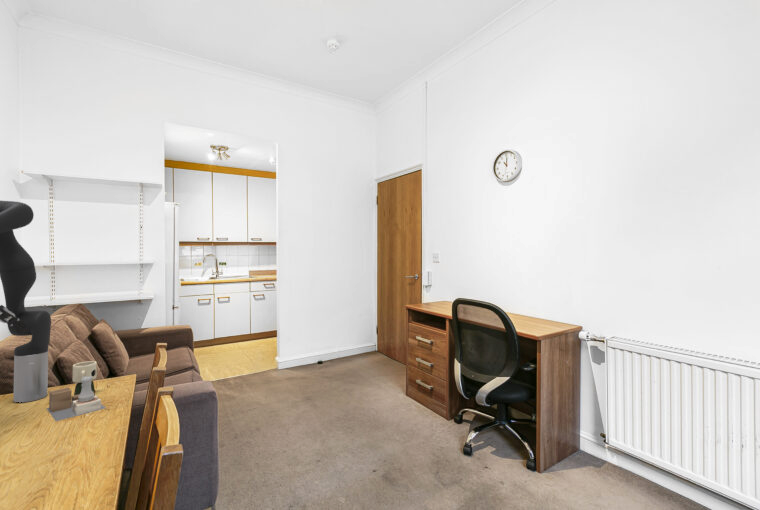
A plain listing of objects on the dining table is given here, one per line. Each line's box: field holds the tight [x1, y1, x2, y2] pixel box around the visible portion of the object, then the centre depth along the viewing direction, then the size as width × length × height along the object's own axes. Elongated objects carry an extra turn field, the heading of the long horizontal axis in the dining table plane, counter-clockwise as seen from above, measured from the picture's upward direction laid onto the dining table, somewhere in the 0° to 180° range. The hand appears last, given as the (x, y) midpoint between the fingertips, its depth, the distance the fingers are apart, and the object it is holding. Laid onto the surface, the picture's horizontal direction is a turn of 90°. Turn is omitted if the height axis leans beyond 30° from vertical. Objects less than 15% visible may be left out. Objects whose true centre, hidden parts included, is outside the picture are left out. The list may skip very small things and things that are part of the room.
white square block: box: [72, 395, 102, 416], centre depth 121 cm, size 6×6×3 cm
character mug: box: [72, 360, 98, 396], centre depth 135 cm, size 11×7×13 cm, turn 34°
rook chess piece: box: [78, 376, 95, 402], centre depth 121 cm, size 4×4×8 cm
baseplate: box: [46, 401, 107, 422], centre depth 122 cm, size 16×13×1 cm
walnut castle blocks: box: [48, 386, 96, 412], centre depth 125 cm, size 5×12×6 cm, turn 141°
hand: (25, 328), depth 113 cm, fingers open, 8 cm apart
